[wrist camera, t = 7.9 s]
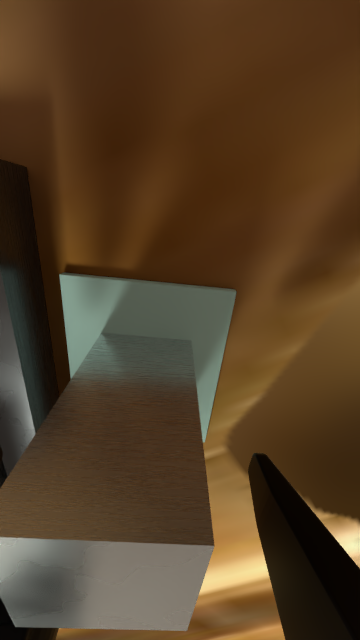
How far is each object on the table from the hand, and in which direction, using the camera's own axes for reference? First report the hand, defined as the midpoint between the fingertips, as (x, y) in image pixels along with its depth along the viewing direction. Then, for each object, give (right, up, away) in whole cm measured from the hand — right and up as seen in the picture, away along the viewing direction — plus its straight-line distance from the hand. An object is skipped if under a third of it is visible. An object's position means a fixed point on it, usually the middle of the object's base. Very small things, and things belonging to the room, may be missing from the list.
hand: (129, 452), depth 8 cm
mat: (0, +2, +5) cm, 5 cm away
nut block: (0, +2, +4) cm, 5 cm away
